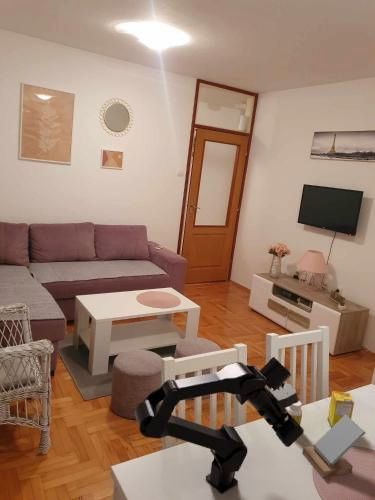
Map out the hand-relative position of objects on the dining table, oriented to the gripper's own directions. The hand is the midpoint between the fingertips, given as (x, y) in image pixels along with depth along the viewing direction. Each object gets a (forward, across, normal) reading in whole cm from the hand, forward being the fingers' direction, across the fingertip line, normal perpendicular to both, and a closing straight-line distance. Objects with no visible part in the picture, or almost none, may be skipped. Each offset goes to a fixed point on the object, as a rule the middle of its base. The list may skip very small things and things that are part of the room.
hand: (290, 431), depth 110 cm
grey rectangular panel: (+16, 0, -2) cm, 16 cm away
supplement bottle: (+18, +16, 0) cm, 24 cm away
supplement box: (+30, +15, -13) cm, 36 cm away
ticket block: (+19, 0, -2) cm, 19 cm away
